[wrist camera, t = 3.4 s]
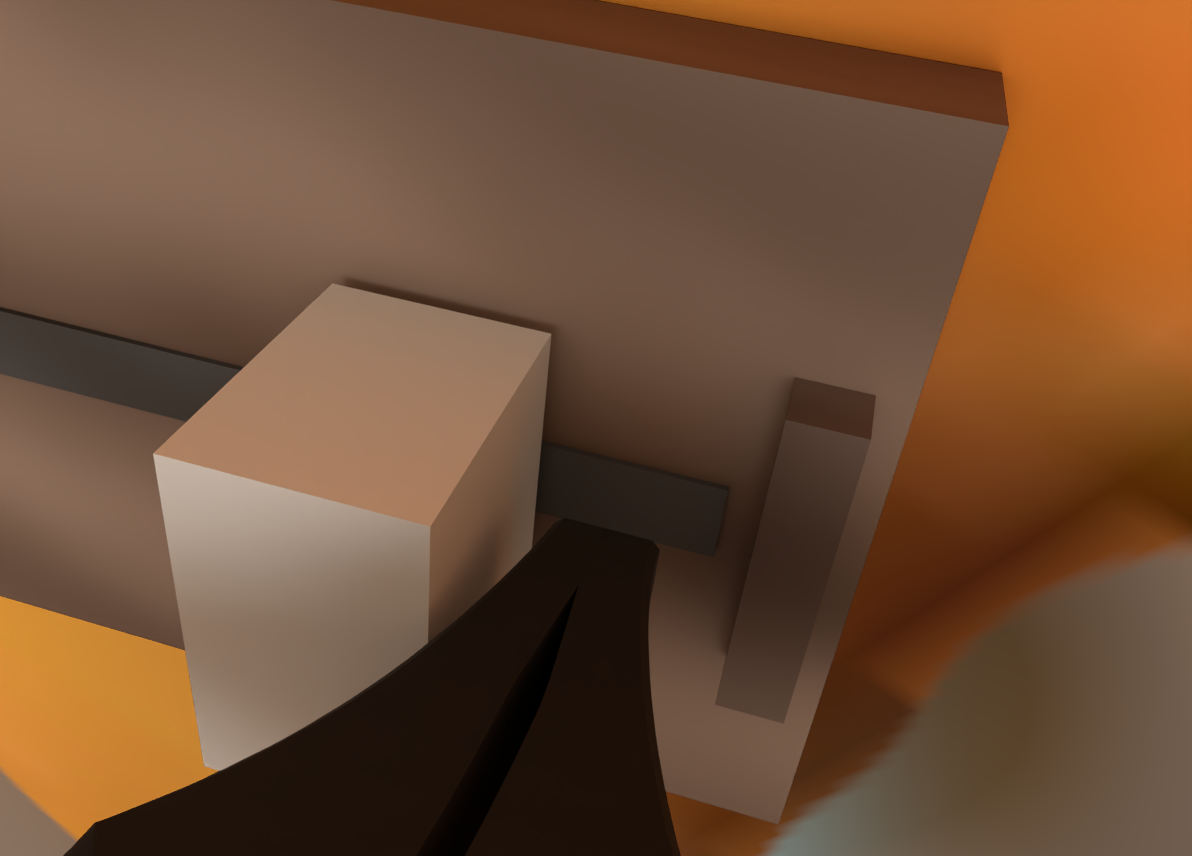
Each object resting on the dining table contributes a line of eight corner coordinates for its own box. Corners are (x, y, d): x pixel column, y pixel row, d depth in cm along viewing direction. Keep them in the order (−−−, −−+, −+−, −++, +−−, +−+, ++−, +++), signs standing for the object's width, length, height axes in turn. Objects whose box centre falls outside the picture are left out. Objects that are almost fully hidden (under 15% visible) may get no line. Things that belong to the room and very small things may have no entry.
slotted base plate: (792, 732, 20) (770, 876, 17) (-307, 425, 24) (-450, 508, 21) (1001, 73, 13) (1012, 159, 11) (-600, -214, 17) (-862, -199, 14)
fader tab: (525, 615, 17) (424, 835, 13) (343, 566, 17) (204, 765, 14) (551, 333, 14) (429, 527, 11) (332, 283, 14) (153, 453, 11)
